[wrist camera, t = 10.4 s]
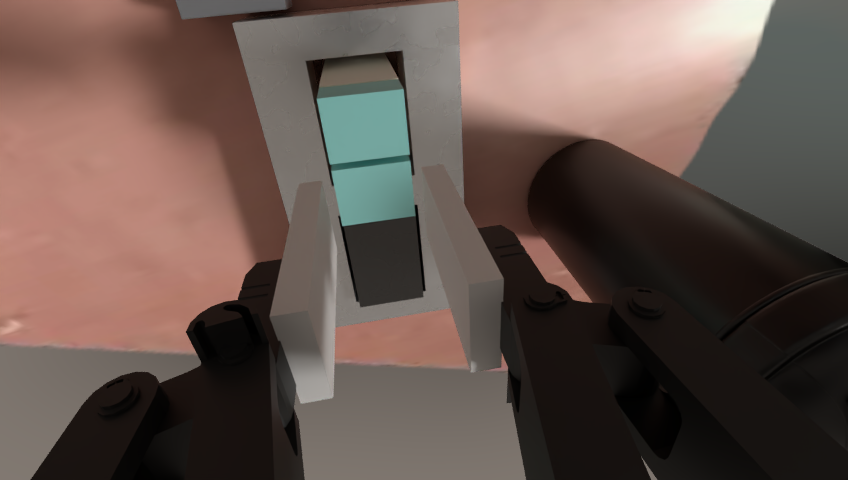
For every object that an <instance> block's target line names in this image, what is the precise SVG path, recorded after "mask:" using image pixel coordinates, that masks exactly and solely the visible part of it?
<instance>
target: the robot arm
mask: <svg viewBox="0 0 848 480" xmlns="http://www.w3.org/2000/svg"><path fill="white" fill-rule="evenodd" d="M421 173H422V185H423V197H424V208H425V220H426V231H427V237H428V241H429V244H430V247H431V250H432V253H433V256H434V259H435V262H436V265H437V269H438V272H439V275H440V278H441V281H442V284H443V287H444V290H445V293H446V296H447V300H448V303H449V306H450V309H451V312H452V315H453V318H454V321H455V324H456V328H457V331H458V334H459V337H460V340H461V343H462V346H463V349H464V352H465V355H466V359H467V362H468V365H469V368H470V371H471V373H472V372H478V371H483V370H489V369H494V368H500V367H501V357H502V354H503V356H504V359H505V361H506V363H507V366H508V386H507V387H508V388H507V403H511V402H512V407H513V412H514V418H515V423H516V428H517V434H518V438H519V444H520V449H521V455H522V459H523V465H524V470H525V476H526V480H651V478H650V476H649V474H648V472H647V469H646V467H645V465H644V462H643V460H644V461H645V462H646V464H647V465H648V467H649V468H650V469H651V471H652V472H653V474H654V475H655V477H656V478H657V480H848V451H847V450H846V449H845V448H844V447H842V446H841V445H840V444H839V443H838V442H837V441H835V440H834V439H833V438H832V437H831V436H830V435H829V434H827V433H826V432H825V431H824V430H823V429H822V428H821V427H819V426H818V425H817V424H816V423H815V422H814V421H813V420H811V419H810V418H809V417H808V416H807V415H806V414H804V413H803V412H802V411H801V410H800V409H799V408H798V407H796V406H795V405H794V404H793V403H792V402H791V401H790V400H788V399H787V398H786V397H785V396H784V395H783V394H781V393H780V392H779V391H778V390H777V389H776V388H775V387H773V386H772V385H771V384H770V383H769V382H768V381H767V380H765V379H764V378H763V377H762V376H761V375H760V374H758V373H757V372H756V371H755V370H754V369H753V368H752V367H750V366H749V365H748V364H747V363H746V362H745V361H744V360H742V359H741V358H740V357H739V356H738V355H737V354H736V353H734V352H733V351H732V350H731V349H730V348H729V347H727V346H726V345H725V344H724V343H723V342H722V341H721V340H719V339H718V338H717V337H716V336H715V335H714V334H713V333H711V332H710V331H709V330H708V329H707V328H706V327H704V326H703V325H702V324H701V323H700V322H699V321H698V320H696V319H695V318H694V317H693V316H692V315H691V314H690V313H688V312H687V311H686V310H685V309H684V308H683V307H681V306H680V305H679V304H678V303H677V302H676V301H675V300H673V299H672V298H670V297H669V296H667V295H666V294H664V293H662V292H659V291H657V290H654V289H651V288H646V287H639V286H635V287H625V288H623V289H621V290H618V291H617V292H616V293H615V294H614V295H613V297H612V300H611V304H605V303H589V302H581V301H575V300H573V299H572V298H571V296H570V295H569V294H568V292H567V291H565V290H564V289H562V288H561V287H559V286H557V285H554V284H551V283H547V282H546V280H545V279H544V277H543V276H542V274H541V273H540V271H539V270H538V268H537V267H536V265H535V264H534V262H533V261H532V259H531V258H530V256H529V255H528V254H527V253H526V250H525V249H524V247H523V246H522V245H521V243H520V241H519V240H518V238H517V237H516V235H515V234H514V233H513V232H512V231H510V230H508V229H507V228H505V227H504V226H502V225H497V226H491V227H484V228H478V229H477V227H476V225H475V224H474V222H473V220H472V218H471V216H470V214H469V212H468V210H467V209H466V207H465V205H464V203H463V201H462V199H461V197H460V195H459V194H458V192H457V190H456V188H455V186H454V184H453V182H452V180H451V178H450V177H449V175H448V173H447V171H446V169H445V167H444V165H443V164H440V165H433V166H425V167H421ZM336 275H337V246H336V241H335V237H334V232H333V228H332V223H331V219H330V215H329V210H328V206H327V201H326V197H325V192H324V188H323V183H322V181H314V182H307V183H299V185H298V189H297V194H296V198H295V203H294V208H293V212H292V217H291V221H290V226H289V230H288V235H287V239H286V244H285V249H284V253H283V258H282V259H280V260H273V261H267V262H260V263H256V264H255V266H254V267H253V268H252V269H251V270H250V271H249V272H248V273H247V274H246V275H245V278H244V281H243V284H242V287H241V288H242V290H241V291H240V294H239V297H238V300H234V301H227V302H223V303H220V304H217V305H214V306H212V307H210V308H208V309H207V310H205V311H203V312H202V313H200V314H199V315H198V316H197V317H196V318H195V319H194V320H193V321H192V322H191V323H190V325H189V327H188V329H187V331H186V333H187V335H188V337H189V339H190V341H191V343H192V345H193V347H194V349H195V351H196V353H197V355H198V357H199V358H200V360H201V365H200V366H199V367H197V368H195V369H193V370H191V371H189V372H187V373H184V374H182V375H179V376H177V377H174V378H172V379H169V380H167V381H164V382H162V383H159V381H158V380H157V378H156V377H155V376H154V375H152V374H150V373H148V372H134V373H130V374H126V375H122V376H120V377H118V378H116V379H113V380H111V381H109V382H107V383H106V384H105V385H103V386H102V387H100V388H99V389H98V390H96V391H95V392H94V393H93V394H92V395H91V396H90V397H89V398H88V399H87V400H86V402H84V404H83V405H82V406H81V408H80V409H79V411H78V412H77V414H76V415H75V417H74V418H73V419H72V421H71V422H70V424H69V425H68V426H67V428H66V429H65V431H64V432H63V434H62V435H61V437H60V438H59V439H58V441H57V442H56V444H55V445H54V447H53V448H52V450H51V451H50V452H49V454H48V456H47V457H46V458H45V460H44V461H43V463H42V464H41V466H40V467H39V468H38V470H37V471H36V473H35V474H34V476H33V477H32V479H31V480H305V479H304V469H303V459H302V449H301V439H300V429H299V421H298V418H297V415H296V413H295V410H294V402H295V392H297V394H298V397H299V400H300V403H301V404H302V403H307V402H313V401H319V400H324V399H330V398H333V394H334V355H335V315H336ZM641 457H642V458H643V460H642V458H641Z"/></svg>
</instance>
